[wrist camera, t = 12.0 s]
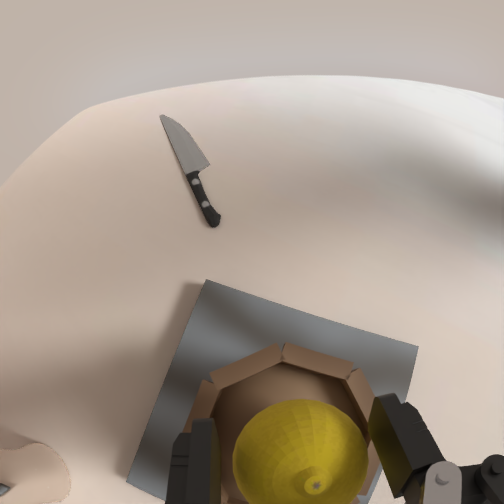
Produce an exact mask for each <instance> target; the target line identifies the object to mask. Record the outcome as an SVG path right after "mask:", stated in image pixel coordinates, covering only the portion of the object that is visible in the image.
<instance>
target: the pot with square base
mask: <svg viewBox="0 0 504 504" xmlns="http://www.w3.org/2000/svg"><path fill="white" fill-rule="evenodd" d="M418 347H419V346H415V345H412V344H408V343H405V342H401V341H398V340H394V339H391V338H387V337H384V336H380V335H377V334H374V333H370V332H367V331H364V330H360V329H357V328H354V327H350V326H347V325H344V324H341V323H337V322H334V321H331V320H328V319H324V318H321V317H318V316H315V315H312V314H309V313H305V312H302V311H299V310H296V309H293V308H290V307H287V306H284V305H281V304H278V303H275V302H272V301H269V300H266V299H263V298H260V297H257V296H254V295H251V294H248V293H245V292H242V291H239V290H236V289H233V288H230V287H227V286H224V285H222V284H219V283H216V282H213V281H210V280H207V279H206V281H205V283H204V285H203V288H202V290H201V292H200V295H199V297H198V300H197V302H196V304H195V307H194V309H193V312H192V314H191V316H190V319H189V321H188V324H187V326H186V328H185V331H184V333H183V336H182V338H181V341H180V343H179V346H178V348H177V350H176V353H175V355H174V358H173V360H172V363H171V365H170V368H169V370H168V373H167V375H166V378H165V380H164V383H163V385H162V388H161V391H160V393H159V396H158V398H157V401H156V403H155V406H154V409H153V411H152V414H151V416H150V419H149V422H148V424H147V427H146V429H145V432H144V435H143V437H142V440H141V443H140V445H139V448H138V451H137V453H136V456H135V459H134V462H133V464H132V467H131V470H130V473H129V475H128V478H127V481H126V482H127V483H129V484H131V485H133V486H135V487H137V488H139V489H141V490H143V491H145V492H147V493H149V494H151V495H153V496H155V497H157V498H160V499H162V500H164V501H166V494H167V485H168V477H169V470H170V462H171V458H172V456H171V455H172V447H173V443H174V441H175V440H176V438H177V437H178V435H179V434H180V433H191V429H192V421H193V419H198V418H214V421H215V425H216V428H217V432H218V436H219V440H220V446H221V504H249V503H248V501H247V500H246V499H245V497H244V496H243V494H242V493H241V492H240V490H239V488H238V486H237V483H236V480H235V477H234V474H233V452H234V448H235V444H236V441H237V439H238V437H239V435H240V433H241V432H242V430H243V428H244V427H245V425H246V424H247V423H248V422H249V421H250V420H251V419H252V418H253V417H254V416H255V415H256V414H258V413H259V412H261V411H263V410H264V409H266V408H267V407H269V406H271V405H274V404H277V403H280V402H282V401H286V400H295V399H308V400H317V401H321V402H323V403H326V404H329V405H332V406H334V407H336V408H337V409H339V410H340V411H342V412H343V413H345V414H346V415H348V416H349V417H350V418H351V420H352V421H353V422H354V423H355V424H356V426H357V427H358V428H359V429H360V431H361V433H362V436H363V438H364V440H365V442H366V444H367V450H368V458H369V464H368V471H367V476H366V479H365V481H364V483H363V486H362V488H361V490H360V492H359V493H358V494H357V496H356V497H355V498H354V499H353V501H352V502H351V503H350V504H368V502H369V500H370V498H371V496H372V493H373V491H374V489H375V486H376V484H377V482H378V479H379V477H380V474H381V472H382V469H383V467H382V465H381V462H380V460H379V457H378V455H377V452H376V450H375V447H374V444H373V442H372V439H371V437H370V434H369V430H368V419H369V416H370V412H371V408H372V404H373V400H374V398H375V397H376V396H380V395H385V394H389V393H395V394H396V395H397V397H398V399H399V401H400V402H401V404H402V403H405V400H406V397H407V393H408V389H409V385H410V382H411V378H412V373H413V369H414V365H415V361H416V356H417V352H418Z"/></svg>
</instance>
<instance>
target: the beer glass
mask: <svg viewBox="0 0 504 504" xmlns="http://www.w3.org/2000/svg"><path fill="white" fill-rule="evenodd" d="M70 489H71V479H70V475H69V472H68V469H67V467H66V465H65V463H64V462H63V460H62V459H61V457H60V456H59V455H58V454H57V453H56V452H55V451H54V450H53V449H51V448H50V447H48V446H46V445H44V444H41V443H31V444H28V445H25V446H23V447H21V448H18V449H14V450H6V449H0V504H43V503H52V502H59V501H62V500H64V499H65V498H66V497H67V496H68V494H69V492H70Z"/></svg>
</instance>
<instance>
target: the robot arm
mask: <svg viewBox="0 0 504 504" xmlns="http://www.w3.org/2000/svg"><path fill="white" fill-rule="evenodd" d="M368 430H369V434H370V437H371V439H372V442H373V444H374V447H375V450H376V452H377V455H378V457H379V460H380V462H381V465H382V467H383V470H384V473H385V475H386V478H387V480H388V483H389V486H390V488H391V491H392V494H393V496H394V499H395V498H398V497H401V496H404V499H405V501H406V502H405V504H504V456H502V455H498V454H496V455H491V456H489V457H487V458H486V459H485V460H484V461H483V463H482V464H478V465H471V466H462V467H460V466H457V465H455V464H454V463H452V462H448V461H446V460H445V459H444V457H443V455H442V454H441V452H440V450H439V448H438V446H437V444H436V442H435V441H434V439H433V437H432V435H431V433H430V431H429V430H428V429H427V426H426V424H425V422H423V419H422V417H421V415H420V414H419V412H418V410H417V409H416V408H415V407H413V406H412V405H411V404H409V403H408V402H406V403H402V404H401V402H400V401H399V399H398V397H397V395H396V394H395V393H389V394H385V395H380V396H376V397H375V398H374V400H373V404H372V408H371V412H370V416H369V419H368ZM171 456H172V458H171V462H170V470H169V477H168V485H167V494H166V501H165V504H221V446H220V440H219V436H218V432H217V428H216V425H215V421H214V418H198V419H193V421H192V429H191V433H180V434H179V435H178V437H177V438H176V440H175V441H174V443H173V447H172V455H171Z"/></svg>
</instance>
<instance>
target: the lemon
mask: <svg viewBox="0 0 504 504" xmlns="http://www.w3.org/2000/svg"><path fill="white" fill-rule="evenodd" d="M368 464H369V458H368V450H367V444H366V442H365V440H364V438H363V436H362V433H361V431H360V429H359V428H358V427H357V426H356V424H355V423H354V422H353V421H352V420H351V418H350V417H349V416H348V415H346V414H345V413H343V412H342V411H340V410H339V409H337V408H336V407H334V406H332V405H329V404H326V403H323V402H321V401H317V400H308V399H295V400H286V401H282V402H280V403H277V404H274V405H271V406H269V407H267V408H266V409H264V410H263V411H261V412H259V413H258V414H256V415H255V416H254V417H253V418H252V419H251V420H250V421H249V422H248V423H247V424H246V425H245V427H244V428H243V430H242V432H241V433H240V435H239V437H238V439H237V441H236V444H235V448H234V452H233V474H234V477H235V480H236V483H237V486H238V488H239V490H240V492H241V493H242V494H243V496H244V497H245V499H246V500H247V501H248V503H249V504H350V503H351V502H352V501H353V499H354V498H355V497H356V496H357V494H358V493H359V492H360V490H361V488H362V486H363V483H364V481H365V479H366V476H367V471H368Z"/></svg>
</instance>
